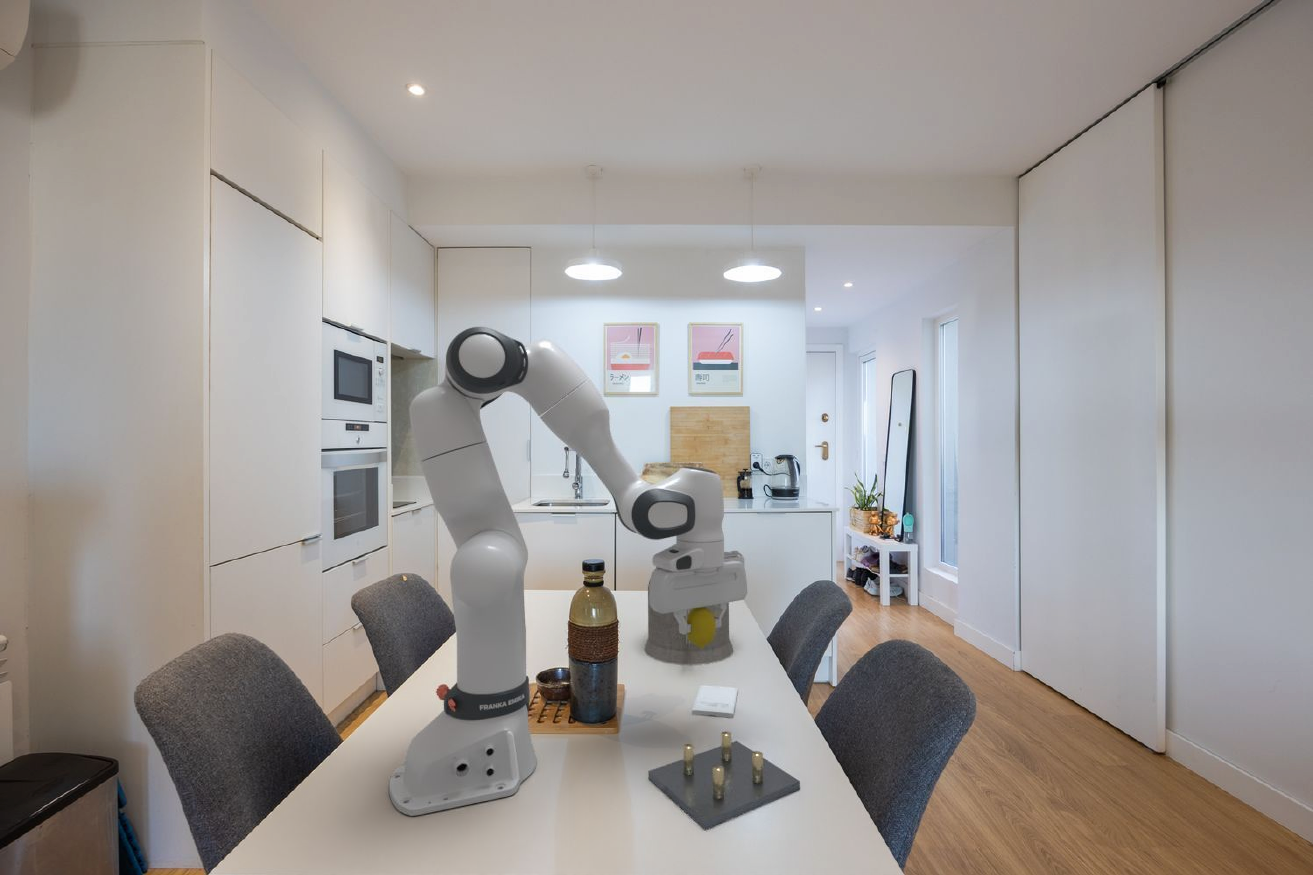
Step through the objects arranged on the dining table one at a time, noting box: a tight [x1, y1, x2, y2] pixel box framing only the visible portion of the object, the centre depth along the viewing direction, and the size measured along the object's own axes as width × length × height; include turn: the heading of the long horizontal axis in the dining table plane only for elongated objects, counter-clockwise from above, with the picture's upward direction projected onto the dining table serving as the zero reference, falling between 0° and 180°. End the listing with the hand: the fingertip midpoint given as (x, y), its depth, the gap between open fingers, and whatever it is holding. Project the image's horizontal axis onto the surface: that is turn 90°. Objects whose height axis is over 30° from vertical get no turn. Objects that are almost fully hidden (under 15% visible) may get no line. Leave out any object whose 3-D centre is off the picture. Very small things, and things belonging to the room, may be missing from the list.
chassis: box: [647, 731, 801, 831], centre depth 92 cm, size 18×15×5 cm
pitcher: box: [643, 566, 735, 666], centre depth 150 cm, size 23×32×25 cm
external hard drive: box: [691, 684, 739, 719], centre depth 121 cm, size 2×8×12 cm
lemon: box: [686, 607, 716, 649], centre depth 108 cm, size 6×6×8 cm
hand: (700, 630), depth 108 cm, fingers closed on lemon, 5 cm apart
